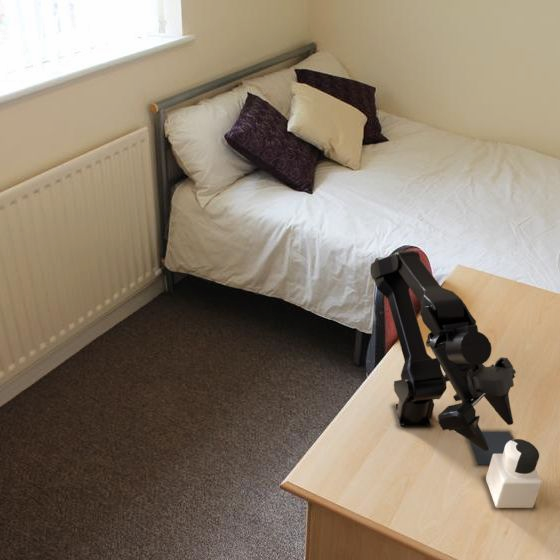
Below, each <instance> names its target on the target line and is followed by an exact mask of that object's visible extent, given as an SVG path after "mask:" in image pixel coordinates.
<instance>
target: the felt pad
mask: <svg viewBox="0 0 560 560" xmlns="http://www.w3.org/2000/svg"><path fill="white" fill-rule="evenodd" d="M482 433H483V435H484V437H485V439H486V441H487V444H488V446H489V450H488V451H484V450H482V449H481V448H479V447H478V446H477V445H475V444H474V443H472V442H471V441H470V440H468V441H469V444H470V446H471V449H472V453H473V455H474V458H475V460H476V463H477V466H490V462H491V459H492V455H493V454H503V452H504V448H505V445H506V443H507V442H509V441H510V440H513V438H512V435H511V433H510V431H482Z"/></svg>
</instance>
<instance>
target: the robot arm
mask: <svg viewBox="0 0 560 560" xmlns="http://www.w3.org/2000/svg"><path fill="white" fill-rule="evenodd" d="M369 267H370V269H369V270H370V276H371V278H372V279H373V280H374V284H375V286H376V289H377V290H378V291H379V292H380V293H381V294H382V295H383V296H384V297H385V298H386V299H387V301H388V305H389V309H390V313H391V316H392V320H393V324H394V328H395V331H396V335H397V338H398V341H399V345H400V348H401V353H402V356H403V360H404V363H403V366H402V369H401V371H400V379H398V380H394V381H393V391H394V393H395V394H396V396H397V398H398V403H396V404H395V406H394V407H395V412H396V415H397V421H398V424H399V426H400V427H401V428H430V427H431V425H432V424H431V421H430V420H431V419H432V418H433V412H434V408H435V403H434V400H440V399H441V398H442V396H443V395H444V393H445V392H446V390H447V387H448V386H447V382H449V383H450V384H451V386H452V388H453V390H454V391H455V394H454V395H453V396H452V398H453V400H454V401H455V402H458V403H456V404H452V405H451V404H450V405H448V406H446V407H445V408H444V409H443V410H442V411H441V412H440V413H439V414H438V416H437V420H436V421H437V423H438V425H439V426H440V428H441V430H442V431H447V430H448V432H452V431H454V432H456V433H457V434H459V435H461V436H462V437H464V438H465V439H467V440H468V441H469V440H470V441H471V442H472V443H474V444H475V445H477V446H478V447H479V448H481V449H482V450H484V451H488V450H489V446H488V444H487V441H486V439H485V437H484V435H483V433H482V432H483V431H482V429H481V427H480V426H479V421H480V415H477V414H476V413H477V411H476V409H475V406H476V405H477V404H478V403H479V402H480V401H481V400H482V399H483V398H485V400H486V401H487V402H488V403H489V404H490V406H491V407H492V408H493V409H494V411H495V412H496V413H497V414H498V416H499V417H500V418H501V419H502V420H503V421H504V423H506V425H508V426H512V425H513V424H514V419H513V414H512V408H511V403H510V397H509V393H510V390H511V388H513V387H514V386H515V384H514V378H516V375H515V374H516V373H517V370H515V369H514V365H513V364H512V362H511V361H510V360H509V358H508V357H502V356H501V357H499V359H497V360H496V361H495V363H494V364H491V365H490V366H485V365H484V364H485V363H487V361H488V360H489V359H490V358H491V355H492V344H491V342H490V340H489V338H488V337H487V335H485V334H484V333H482V332H480V331H479V328H478V325H477V320H476V319H475V317H473V315H472V314H471V312H470V310H469V308H468V306H467V305H466V303H465V302H464V301H463V299H462V298H461V297H460V296H459V295H458V294H457V293H456V292H454V291H453V290H450V289H447V288H444V287H443V286H441V285H440V283H439V282H438V281H437V279H436V278H435V277H434V275H433V274H432V273H431V272H430V271H429V269H428V267H426V265H425V264H424V262H423V261H422V260H421V256H420V253H419V252H418V251H417V250H416V251H415V250H412V249H411V250H402V251H401V250H400V251H395V253H392V254H390V255H388V256H387V255H386V256H381V257H375V259H374V261H373V262H372V263H371V264H370V266H369ZM410 291H412V293H413V295H414V296H415V297H416V299H417V300H418V301H419V303H420V312H419V315H420V316H421V319H422V322H423V324H424V326H425V327H426V328H427V329H428V330H429V331H430V332H429V333H428V334H427V339H426V342H425V341H424V338H423V333H422V331H421V327H420V324H419V319H418V317H417V313H416V311H415V307H414V303H413V300H412V296H411V293H410ZM426 348H430V349H431V351H432V353H433V355H434V356H435V357H434V358H433V357H432V356H430V354H428V352H427V349H426ZM459 401H461V402H460V403H459ZM470 441H469V442H470Z"/></svg>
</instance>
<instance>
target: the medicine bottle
mask: <svg viewBox="0 0 560 560" xmlns="http://www.w3.org/2000/svg"><path fill="white" fill-rule="evenodd" d="M539 460H540V453H539V450H538V448H537V447H536V446H535V445H534V444H533V443H531V442H530V441H527V440H525V439H522V438H515V439H512V440H510V441H509V442H507V443H506V445H505V448H504V452H503V454H493V455H492V459H491V462H490V465H488V466H489V467H488V469H487V470H488V471H487V473H486V476H485V481H486V483H487V486H488V489H489V493H490V495H491V498H492V501H493V504H494V507H495V508H497V509H515V508H516V509H525V508H526V509H532V508H533V507H534V505H535V503H536V500H537V497H538V494H539V492H540V489H541V486H542V480H541V477H540V475H539V472H538V470H537V465H538V462H539Z"/></svg>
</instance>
